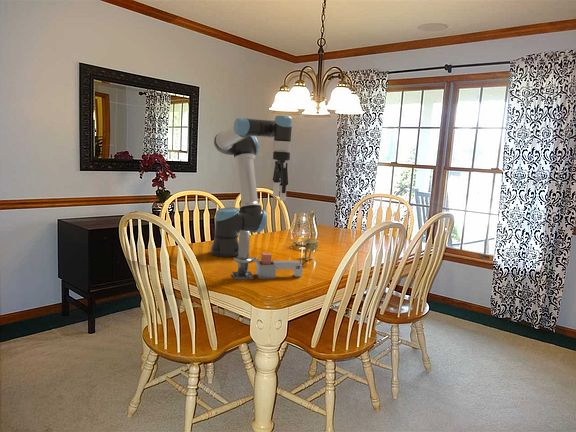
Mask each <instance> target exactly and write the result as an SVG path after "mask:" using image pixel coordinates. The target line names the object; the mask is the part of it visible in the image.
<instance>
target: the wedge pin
mask: <svg viewBox="0 0 576 432" xmlns="http://www.w3.org/2000/svg"><path fill="white" fill-rule="evenodd" d="M260 261H261V265H271V261H272V254H271V252H261V259H260Z"/></svg>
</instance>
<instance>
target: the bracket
mask: <svg viewBox="0 0 576 432" xmlns="http://www.w3.org/2000/svg"><path fill="white" fill-rule="evenodd" d="M255 263H256V264H255V265H256V266H255V275H256V277H257V278H258V280H266V279H267V280H270V279H271V280H273V279H274V280H275V279H276V275H277V274H276V273H277V270H293V274H292V275H293V276H294V277H295V278H299V277H300V278H301V277H302V276H303V265H302V264H301V261H300V260H271V265H261V260H259V262H255Z"/></svg>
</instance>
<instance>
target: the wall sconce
mask: <svg viewBox="0 0 576 432" xmlns="http://www.w3.org/2000/svg"><path fill="white" fill-rule="evenodd" d="M314 217H315V212H314V210H311V211H310V214H309V218H308V220H309V230H310V231H309V232H310V237H309V238H307V237H306V238H304V237H303V238H299V239H298V242H300V243H304V244H305V246H304V247H305V249H304V259H305V261H307V262H308V261H309V260H310V258H311V256H312V252H313V251H316V250H317V249H318V248H319V240H317V238H314V236H313V226H312V225H313V224H312V219H314ZM308 252H309V254H308ZM307 254H308V256H307Z"/></svg>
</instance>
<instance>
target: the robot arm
mask: <svg viewBox="0 0 576 432" xmlns="http://www.w3.org/2000/svg"><path fill="white" fill-rule="evenodd" d="M292 120H293V118H292V117H291V116H290V115H276V116H275V117H274V120H269V119H255V118H248V117H247V118H246V117H242V118H241V117H238V118H235V120H234V122H233V126H231V127H229V128H228V129H226V130H223V131H219V132H218V133H217V134H215V136H214V139H213V144H214V147H215V149H216V150H217V151H218V152H219V153H221V154H223V155H229V156H230V155H231V156H232V155H233V160H234V161H236V163H237V170H238V171H237V172H238V180H239V181H238V182H239V190H240V191H239V192H240V200H241V205H240V206H239V208H238V207H223V208H219V209H217V210H216V211H215V216H214V239H213V242H212V244H211V247H210V255H212V256H215V257H221V258H222V257H223V258H234V257H238V253H239V231H240V230H248V231H250V233H251V234H252V233H254V234H255V233H260V232H263V231H264V230H265V228H266V225H267V223H268V222H267V221H268V214H267V212H266V210H264V209H263V208H262V205H261V204H260V203H259V200H258V192H257V191H258V189H257V181H256V172H255V164H254V162H255V161H254V160H255V159H256V157H257V155H258V153H259V148H260V147H259V141H258V138H257V137H263V138H272V139H273V146H272V148H273V150H274V151H273V152H272V153H273V155H272V160H275V161H274V169H273V174H272V175H273V176H272V181H273V188H272V189H273V191H272V197H279V202H280V201H285V202H286V200H287V187H288V185H289V177H288V176H289V175H288V173H289V172H288V165H289V164H288V163H287V161H290V160H291V152H290V151H291V147H292V146H293V145H292V143H291V140H292V127H293V123H292V122H293V121H292Z"/></svg>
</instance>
